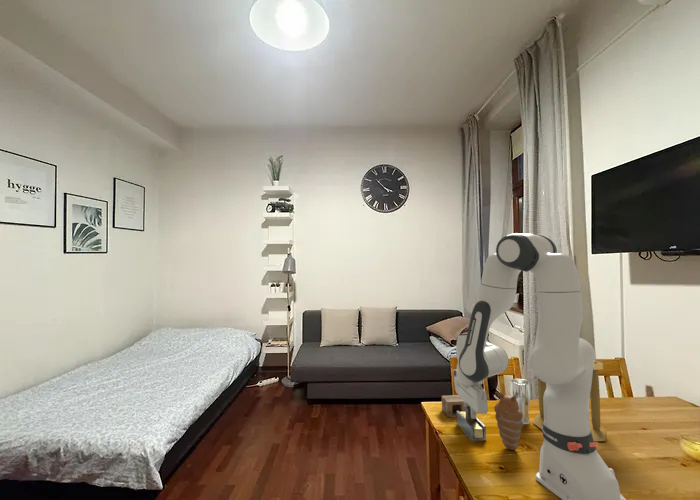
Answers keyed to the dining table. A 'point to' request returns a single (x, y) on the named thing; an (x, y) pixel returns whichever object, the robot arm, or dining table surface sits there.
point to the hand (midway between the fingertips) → (470, 415)
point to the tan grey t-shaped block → (473, 423)
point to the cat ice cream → (509, 420)
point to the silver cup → (521, 396)
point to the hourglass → (595, 427)
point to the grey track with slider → (470, 427)
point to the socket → (452, 405)
